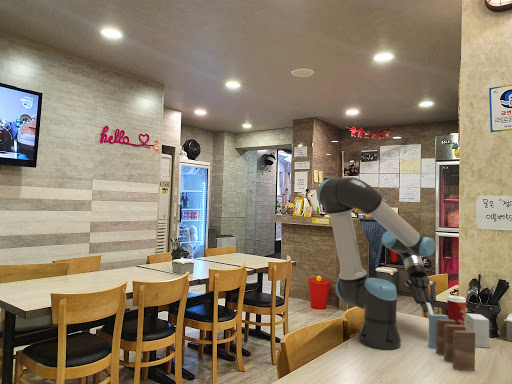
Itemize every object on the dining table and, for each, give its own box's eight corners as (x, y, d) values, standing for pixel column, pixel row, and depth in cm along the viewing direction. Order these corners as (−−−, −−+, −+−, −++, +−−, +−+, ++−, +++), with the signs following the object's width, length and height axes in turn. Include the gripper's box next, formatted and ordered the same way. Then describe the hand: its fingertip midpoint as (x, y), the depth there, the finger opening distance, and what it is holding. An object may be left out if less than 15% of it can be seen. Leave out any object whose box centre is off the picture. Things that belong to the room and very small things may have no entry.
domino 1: (435, 352, 133) (436, 319, 134) (452, 353, 133) (453, 319, 134) (438, 354, 131) (439, 320, 132) (455, 355, 131) (456, 321, 132)
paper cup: (465, 334, 154) (466, 300, 155) (445, 330, 159) (445, 297, 159) (466, 328, 161) (467, 296, 162) (446, 325, 165) (447, 293, 166)
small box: (489, 348, 139) (489, 320, 140) (473, 346, 140) (473, 318, 141) (481, 340, 147) (481, 314, 147) (465, 339, 148) (466, 312, 149)
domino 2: (444, 359, 127) (444, 324, 128) (461, 360, 127) (462, 325, 128) (446, 362, 125) (447, 326, 126) (464, 362, 125) (465, 327, 126)
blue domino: (428, 346, 140) (429, 314, 140) (444, 346, 139) (445, 314, 140) (430, 348, 138) (431, 315, 138) (447, 348, 137) (447, 316, 138)
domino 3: (452, 367, 121) (453, 330, 122) (471, 368, 121) (471, 331, 122) (455, 369, 119) (456, 332, 120) (474, 370, 119) (475, 333, 120)
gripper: (427, 274, 164) (445, 324, 147) (397, 273, 164) (412, 323, 147) (433, 264, 159) (452, 315, 141) (402, 263, 159) (418, 313, 142)
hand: (432, 319), depth 144 cm, fingers closed
